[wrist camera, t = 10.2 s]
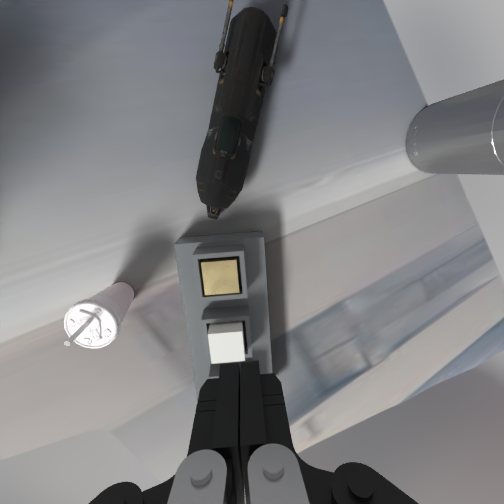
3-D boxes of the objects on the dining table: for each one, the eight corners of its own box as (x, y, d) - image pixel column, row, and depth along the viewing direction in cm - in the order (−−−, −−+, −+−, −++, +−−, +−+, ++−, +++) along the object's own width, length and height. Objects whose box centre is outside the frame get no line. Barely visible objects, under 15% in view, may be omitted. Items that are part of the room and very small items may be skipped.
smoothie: (130, 267, 43) (79, 311, 30) (150, 303, 45) (112, 360, 31) (92, 283, 44) (26, 334, 30) (114, 318, 45) (60, 381, 32)
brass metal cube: (236, 252, 39) (236, 259, 36) (239, 283, 40) (239, 292, 37) (204, 255, 39) (200, 262, 36) (207, 285, 40) (205, 295, 37)
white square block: (242, 318, 40) (242, 331, 37) (244, 346, 41) (245, 360, 38) (210, 321, 40) (207, 334, 37) (213, 349, 41) (211, 363, 38)
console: (261, 231, 42) (265, 242, 36) (271, 379, 50) (276, 412, 43) (179, 237, 42) (168, 250, 35) (201, 385, 49) (195, 419, 43)
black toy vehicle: (283, 30, 36) (295, -12, 28) (236, 222, 42) (235, 232, 34) (230, 12, 36) (227, -35, 28) (189, 210, 41) (178, 218, 33)
